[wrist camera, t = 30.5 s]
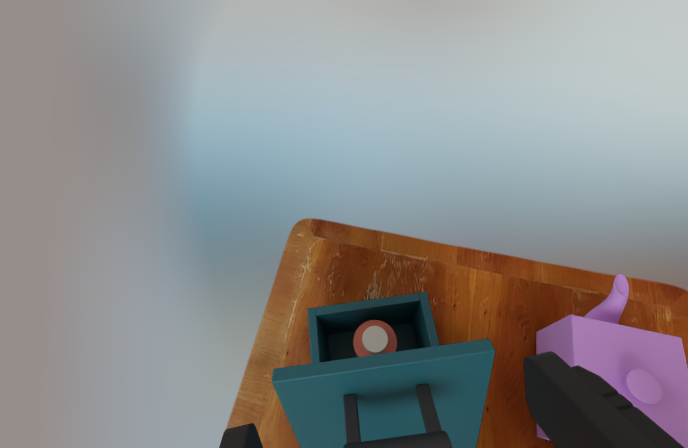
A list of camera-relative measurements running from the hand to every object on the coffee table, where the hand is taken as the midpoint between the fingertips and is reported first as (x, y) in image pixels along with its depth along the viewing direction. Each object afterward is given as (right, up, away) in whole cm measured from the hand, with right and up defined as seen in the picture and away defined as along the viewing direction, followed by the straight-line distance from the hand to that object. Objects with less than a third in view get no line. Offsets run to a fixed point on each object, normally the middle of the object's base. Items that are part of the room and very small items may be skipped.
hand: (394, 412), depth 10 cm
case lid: (+1, -7, +12) cm, 14 cm away
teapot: (+23, -12, +27) cm, 37 cm away
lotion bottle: (+2, -9, +29) cm, 31 cm away
